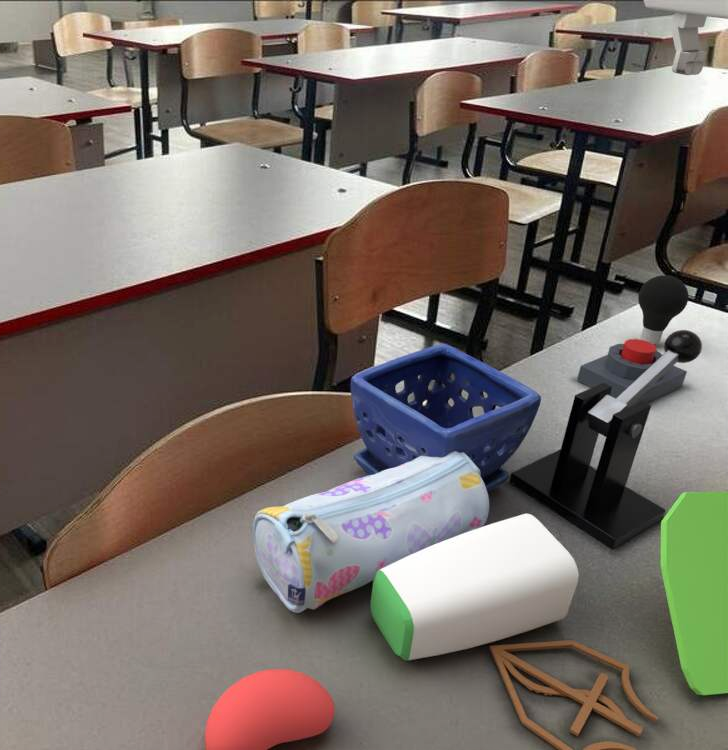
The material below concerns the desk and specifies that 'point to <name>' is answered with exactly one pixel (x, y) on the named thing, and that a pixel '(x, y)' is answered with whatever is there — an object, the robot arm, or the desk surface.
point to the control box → (628, 375)
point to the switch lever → (646, 379)
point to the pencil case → (366, 527)
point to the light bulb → (660, 305)
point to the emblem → (569, 692)
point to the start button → (638, 351)
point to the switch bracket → (594, 474)
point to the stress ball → (268, 711)
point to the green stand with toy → (698, 586)
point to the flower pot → (440, 412)
